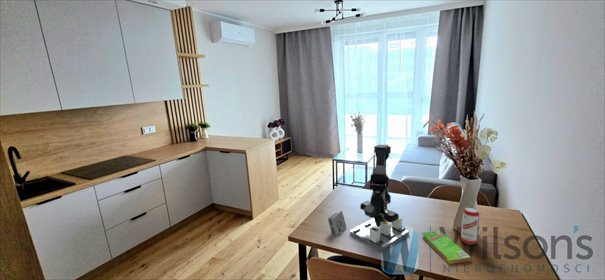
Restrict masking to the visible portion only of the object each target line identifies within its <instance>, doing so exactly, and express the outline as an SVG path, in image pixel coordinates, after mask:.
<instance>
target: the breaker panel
mask: <svg viewBox="0 0 605 280" xmlns="http://www.w3.org/2000/svg"><path fill="white" fill-rule="evenodd" d="M384 220H385V219H383V221H384ZM385 221H386V220H385ZM387 222H388V221H387ZM389 223H391V234H390V235H388V236H386V235H385V234H383V233H381V225H380V227H377V225H376V222H375V220H374V217H373V218H371V219H369V220H367V221H366V222H363V223H362V224H360V225H357V226H356V227H354V228H352V229H350V230H349V234H350V236H353V237H354V238H355V239H357V240H359V241H361V242H363V243H365V244H366V245H368V246H370V247H371V248H373V249H375V250H376V251H378V252H380V253H383V252H384V251H386V250H388V249H389V248H391V247H392V246H394V245H396V244H397V243H398V242H400V241H401V239H402V240H403V239H405V238H406V237H408V236H410V231H409V230H407V229H406V227H405V226H402V228H400V229H399V230H398V229H396V228H394V227H392V222H389ZM371 227H375V228H377V229H379V230H380V241H379V242H377V243H375V242H373V241H371V240H370V239H369V229H370V228H371ZM404 237H405V238H404ZM393 244H394V245H393ZM391 245H392V246H391ZM390 246H391V247H390ZM388 247H389V248H388ZM387 248H388V249H387ZM385 249H386V250H385Z"/></svg>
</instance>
